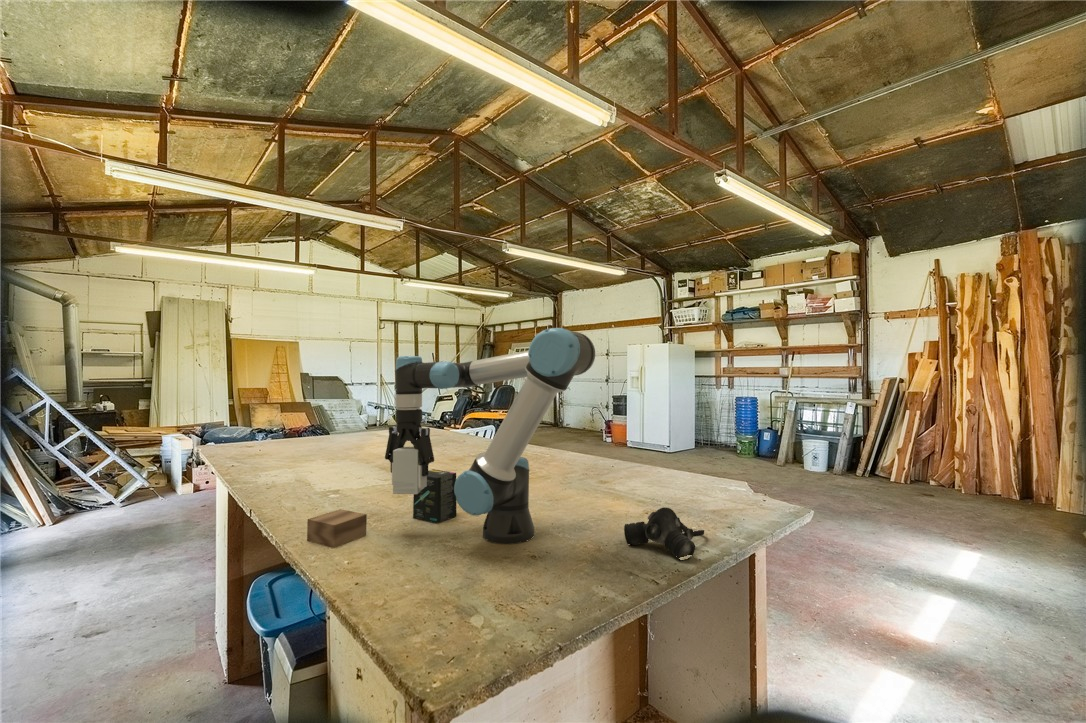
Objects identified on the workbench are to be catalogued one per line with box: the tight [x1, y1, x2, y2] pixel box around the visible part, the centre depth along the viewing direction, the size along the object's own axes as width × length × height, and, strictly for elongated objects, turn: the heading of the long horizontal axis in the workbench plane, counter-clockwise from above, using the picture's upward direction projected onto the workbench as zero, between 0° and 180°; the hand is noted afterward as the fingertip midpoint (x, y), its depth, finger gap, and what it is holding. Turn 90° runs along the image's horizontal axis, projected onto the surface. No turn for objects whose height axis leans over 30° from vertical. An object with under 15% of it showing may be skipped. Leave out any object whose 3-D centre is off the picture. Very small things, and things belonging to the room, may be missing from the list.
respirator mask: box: [623, 506, 705, 559], centre depth 130 cm, size 20×22×15 cm
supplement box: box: [392, 446, 424, 495], centre depth 135 cm, size 7×7×13 cm
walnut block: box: [306, 508, 368, 548], centre depth 133 cm, size 11×11×6 cm
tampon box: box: [412, 469, 458, 524], centre depth 152 cm, size 11×9×15 cm
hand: (409, 485), depth 135 cm, fingers closed on supplement box, 9 cm apart
